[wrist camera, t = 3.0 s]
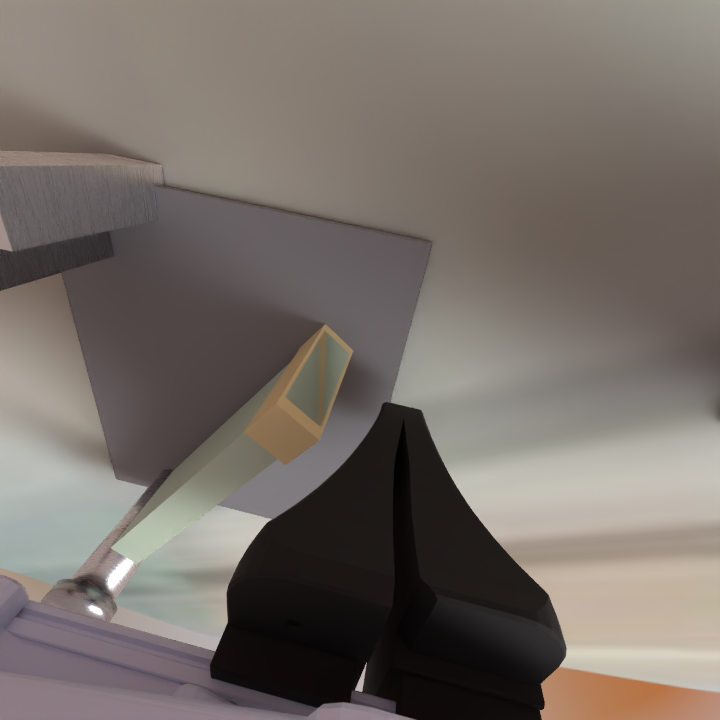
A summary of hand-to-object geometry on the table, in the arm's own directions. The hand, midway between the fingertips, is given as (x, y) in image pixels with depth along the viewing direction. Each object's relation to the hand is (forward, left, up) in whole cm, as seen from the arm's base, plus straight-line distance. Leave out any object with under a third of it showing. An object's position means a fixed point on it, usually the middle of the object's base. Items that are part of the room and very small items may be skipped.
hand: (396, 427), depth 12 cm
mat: (+7, +1, -2) cm, 7 cm away
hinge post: (+10, +8, -2) cm, 13 cm away
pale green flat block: (+6, +2, -1) cm, 7 cm away
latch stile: (+10, -6, -2) cm, 12 cm away
